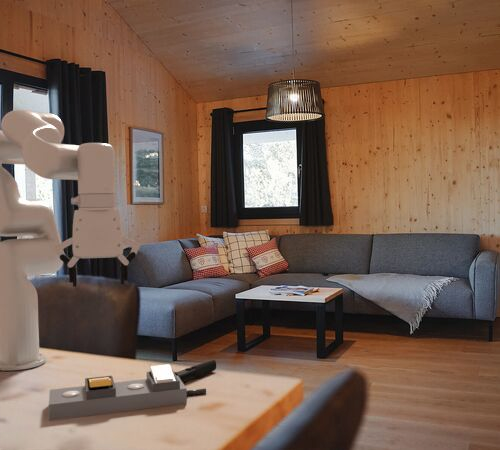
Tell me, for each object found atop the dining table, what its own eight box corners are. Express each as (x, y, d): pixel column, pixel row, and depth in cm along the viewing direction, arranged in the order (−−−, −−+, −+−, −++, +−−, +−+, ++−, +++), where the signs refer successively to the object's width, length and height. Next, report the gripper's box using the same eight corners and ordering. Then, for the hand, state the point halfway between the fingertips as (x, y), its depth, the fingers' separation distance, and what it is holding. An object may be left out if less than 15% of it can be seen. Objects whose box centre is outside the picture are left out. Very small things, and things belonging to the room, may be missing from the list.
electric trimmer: (220, 373, 134) (220, 360, 134) (173, 390, 122) (172, 375, 122) (209, 371, 136) (208, 358, 136) (161, 387, 124) (160, 372, 124)
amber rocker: (88, 384, 115) (88, 377, 115) (109, 382, 116) (108, 375, 116) (90, 387, 108) (89, 380, 108) (111, 385, 109) (111, 377, 110)
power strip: (50, 404, 114) (49, 381, 113) (200, 386, 123) (200, 365, 123) (49, 420, 105) (48, 396, 105) (211, 400, 115) (210, 377, 115)
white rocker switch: (150, 370, 119) (150, 364, 118) (169, 368, 120) (169, 362, 120) (155, 387, 112) (155, 381, 112) (175, 385, 113) (175, 378, 113)
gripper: (52, 203, 112) (54, 289, 112) (140, 202, 116) (142, 285, 117) (54, 203, 119) (56, 284, 120) (138, 202, 124) (139, 280, 124)
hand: (99, 284), depth 118 cm, fingers open, 9 cm apart
